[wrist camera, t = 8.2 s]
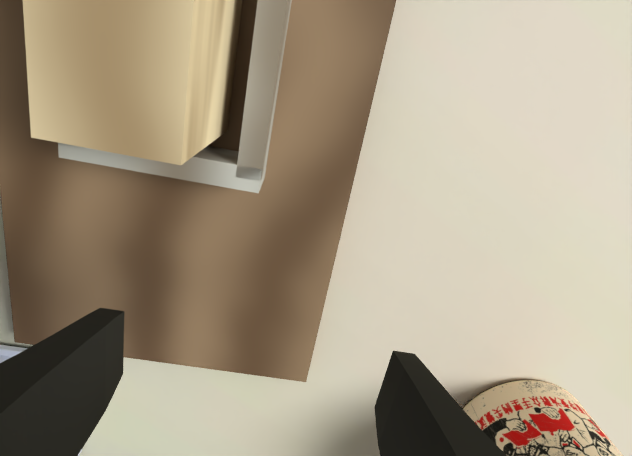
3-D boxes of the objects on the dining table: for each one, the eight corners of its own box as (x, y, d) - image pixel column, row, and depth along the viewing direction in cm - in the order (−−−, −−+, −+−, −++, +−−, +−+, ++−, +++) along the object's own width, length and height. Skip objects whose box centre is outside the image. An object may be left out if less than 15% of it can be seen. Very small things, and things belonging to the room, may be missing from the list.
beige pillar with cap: (135, 112, 17) (30, 137, 11) (142, -126, 14) (4, -293, 8) (227, 130, 18) (181, 165, 11) (253, -98, 15) (211, -235, 8)
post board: (26, 330, 22) (-89, 437, 16) (-33, -406, 12) (-413, -943, 6) (305, 369, 24) (305, 482, 17) (452, -260, 14) (584, -558, 7)
